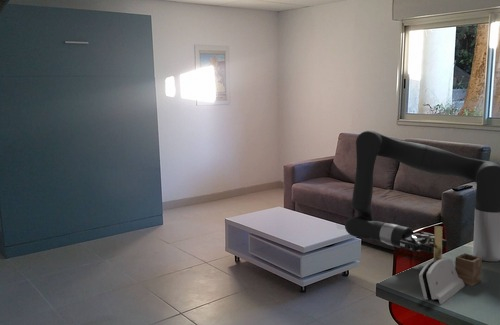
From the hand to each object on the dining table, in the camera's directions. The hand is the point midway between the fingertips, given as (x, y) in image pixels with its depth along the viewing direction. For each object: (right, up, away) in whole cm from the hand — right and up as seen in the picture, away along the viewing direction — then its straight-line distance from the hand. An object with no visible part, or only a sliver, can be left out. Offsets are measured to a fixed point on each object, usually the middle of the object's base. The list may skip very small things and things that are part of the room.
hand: (439, 246), depth 147 cm
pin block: (+6, -9, -6) cm, 13 cm away
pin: (0, -8, +2) cm, 9 cm away
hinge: (-5, -11, -12) cm, 17 cm away
